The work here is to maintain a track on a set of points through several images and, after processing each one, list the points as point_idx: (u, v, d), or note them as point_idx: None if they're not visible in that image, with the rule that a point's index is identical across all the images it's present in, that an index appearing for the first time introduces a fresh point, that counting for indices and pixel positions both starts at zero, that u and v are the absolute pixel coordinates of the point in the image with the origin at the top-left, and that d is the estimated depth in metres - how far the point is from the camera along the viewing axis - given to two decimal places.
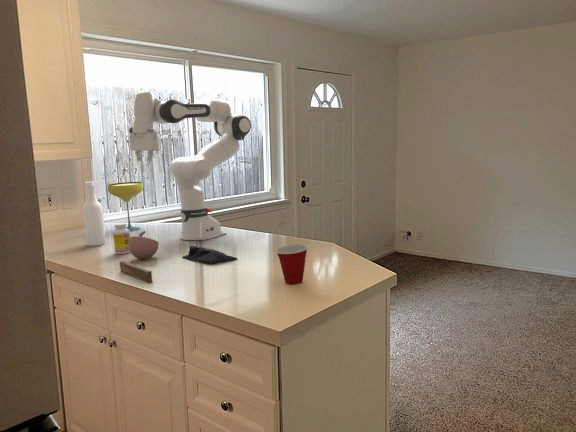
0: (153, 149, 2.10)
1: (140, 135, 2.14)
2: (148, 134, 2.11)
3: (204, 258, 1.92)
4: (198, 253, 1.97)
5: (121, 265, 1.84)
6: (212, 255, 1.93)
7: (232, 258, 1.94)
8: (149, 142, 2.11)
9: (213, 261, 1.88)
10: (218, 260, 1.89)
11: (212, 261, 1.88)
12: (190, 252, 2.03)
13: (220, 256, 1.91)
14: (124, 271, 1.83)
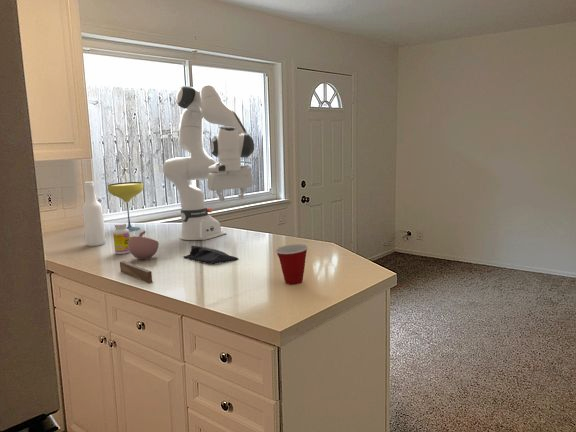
0: None
1: (237, 172, 2.02)
2: (247, 170, 2.06)
3: (205, 258, 1.92)
4: (199, 253, 1.97)
5: (121, 265, 1.84)
6: (213, 255, 1.93)
7: (233, 258, 1.94)
8: (249, 178, 2.07)
9: (214, 261, 1.88)
10: (219, 260, 1.89)
11: (213, 261, 1.88)
12: (191, 252, 2.03)
13: (221, 256, 1.91)
14: (124, 271, 1.83)
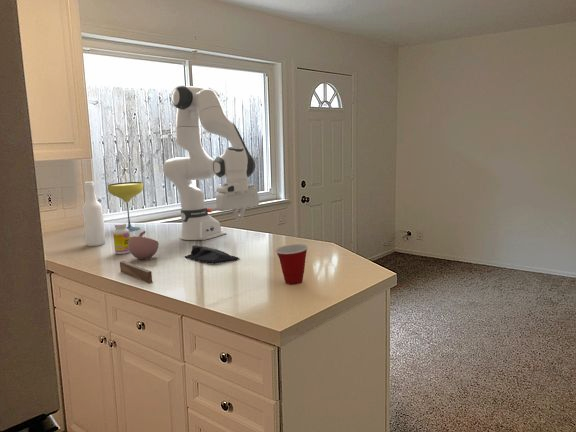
0: None
1: (245, 192, 2.05)
2: (254, 190, 2.09)
3: (206, 258, 1.92)
4: (200, 252, 1.97)
5: (121, 265, 1.84)
6: (214, 255, 1.93)
7: (234, 258, 1.94)
8: (255, 197, 2.10)
9: (215, 261, 1.88)
10: (220, 260, 1.90)
11: (214, 261, 1.88)
12: (193, 251, 2.03)
13: (222, 256, 1.91)
14: (124, 271, 1.83)
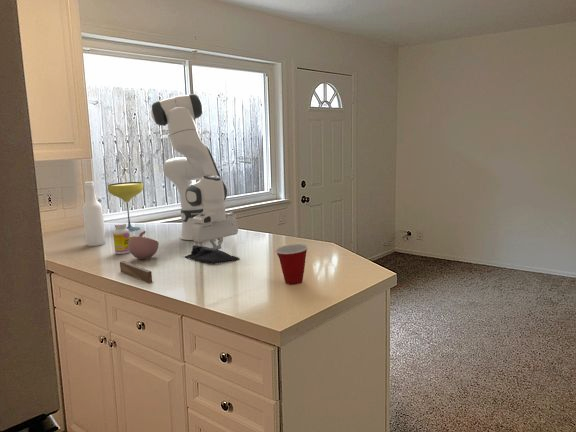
0: None
1: (222, 222, 1.98)
2: (232, 219, 2.03)
3: (206, 258, 1.92)
4: (200, 252, 1.97)
5: (121, 265, 1.84)
6: (214, 255, 1.93)
7: (234, 258, 1.93)
8: (234, 226, 2.04)
9: (215, 261, 1.88)
10: (220, 260, 1.89)
11: (214, 261, 1.88)
12: (193, 251, 2.03)
13: (222, 256, 1.91)
14: (124, 271, 1.83)
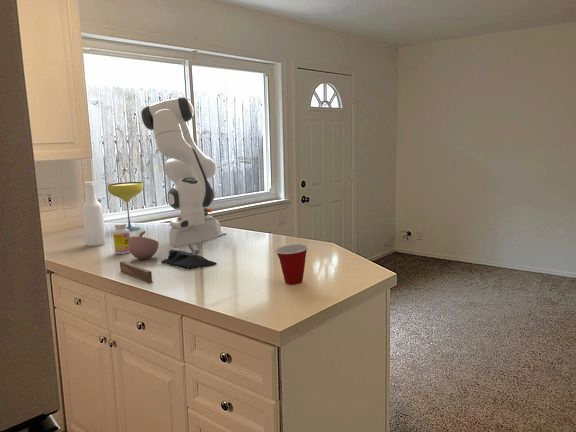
0: None
1: (201, 226, 1.92)
2: (211, 223, 1.96)
3: (182, 263, 1.86)
4: (177, 257, 1.91)
5: (121, 265, 1.84)
6: (190, 259, 1.87)
7: (211, 263, 1.88)
8: (213, 230, 1.97)
9: (190, 266, 1.82)
10: (196, 265, 1.83)
11: (189, 266, 1.82)
12: (169, 256, 1.97)
13: (198, 261, 1.85)
14: (124, 271, 1.83)
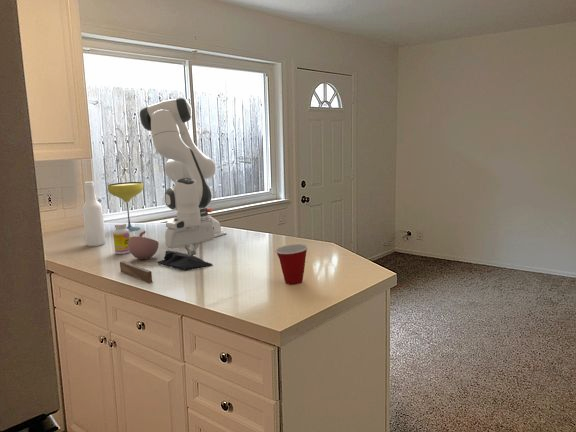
0: None
1: (197, 227, 1.91)
2: (208, 223, 1.95)
3: (178, 264, 1.85)
4: (172, 258, 1.90)
5: (121, 265, 1.84)
6: (186, 261, 1.86)
7: (207, 264, 1.87)
8: (210, 231, 1.96)
9: (186, 267, 1.81)
10: (191, 266, 1.82)
11: (185, 267, 1.81)
12: (165, 257, 1.96)
13: (194, 262, 1.84)
14: (124, 271, 1.83)
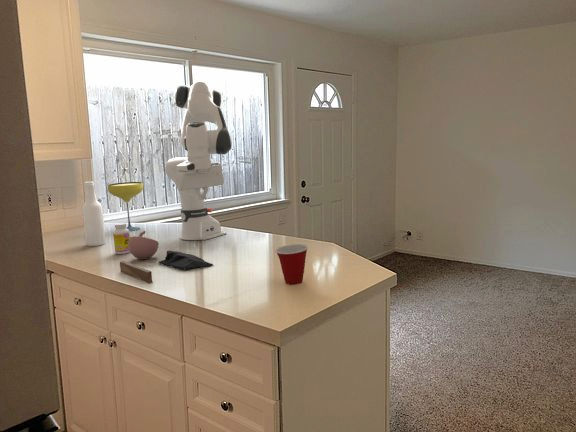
0: None
1: (207, 171, 1.93)
2: (217, 168, 1.97)
3: (178, 264, 1.85)
4: (173, 258, 1.90)
5: (121, 265, 1.84)
6: (187, 261, 1.86)
7: (207, 264, 1.87)
8: (219, 176, 1.98)
9: (186, 267, 1.81)
10: (192, 266, 1.82)
11: (185, 267, 1.81)
12: (167, 257, 1.96)
13: (194, 262, 1.84)
14: (124, 271, 1.83)
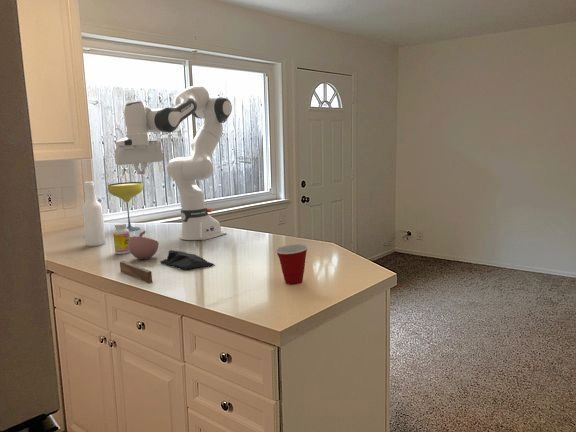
0: None
1: (145, 147, 2.05)
2: (156, 145, 2.09)
3: (180, 263, 1.85)
4: (175, 258, 1.90)
5: (121, 265, 1.84)
6: (188, 260, 1.86)
7: (209, 264, 1.86)
8: (158, 153, 2.10)
9: (188, 267, 1.81)
10: (193, 266, 1.82)
11: (186, 267, 1.81)
12: (169, 256, 1.97)
13: (196, 262, 1.84)
14: (124, 271, 1.83)
